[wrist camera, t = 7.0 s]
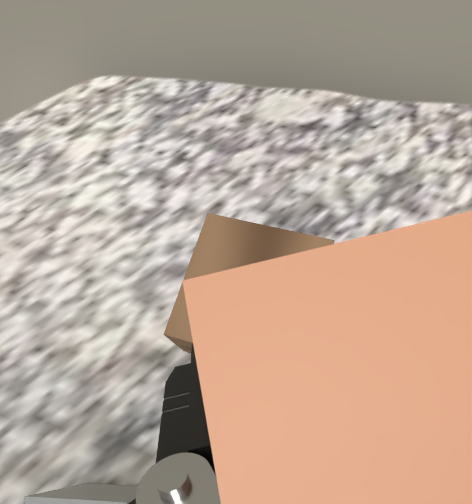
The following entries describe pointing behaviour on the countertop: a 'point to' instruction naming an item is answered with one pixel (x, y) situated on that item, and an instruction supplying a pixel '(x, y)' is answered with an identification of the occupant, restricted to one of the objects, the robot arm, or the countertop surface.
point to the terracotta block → (342, 370)
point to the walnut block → (232, 259)
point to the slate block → (86, 495)
